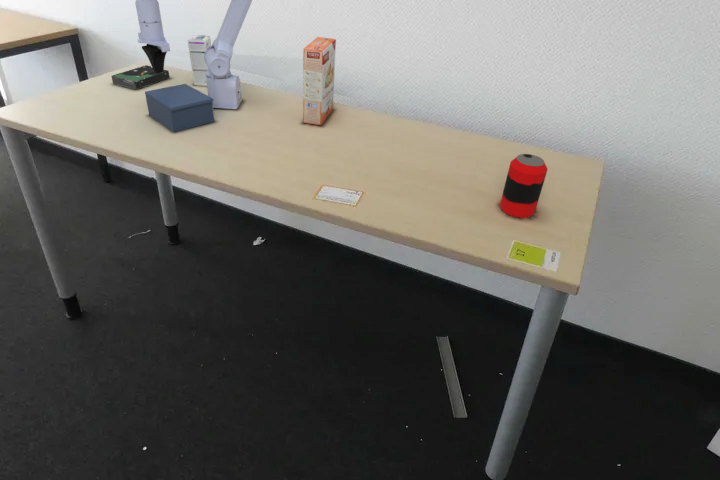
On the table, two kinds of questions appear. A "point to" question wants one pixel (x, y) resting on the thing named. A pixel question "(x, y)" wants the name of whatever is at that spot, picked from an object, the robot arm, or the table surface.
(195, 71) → the syrup box
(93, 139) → the table surface
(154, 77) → the disk drive
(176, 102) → the lid
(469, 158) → the table surface
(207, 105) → the toy box
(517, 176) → the soda can
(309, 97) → the cracker box
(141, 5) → the robot arm
